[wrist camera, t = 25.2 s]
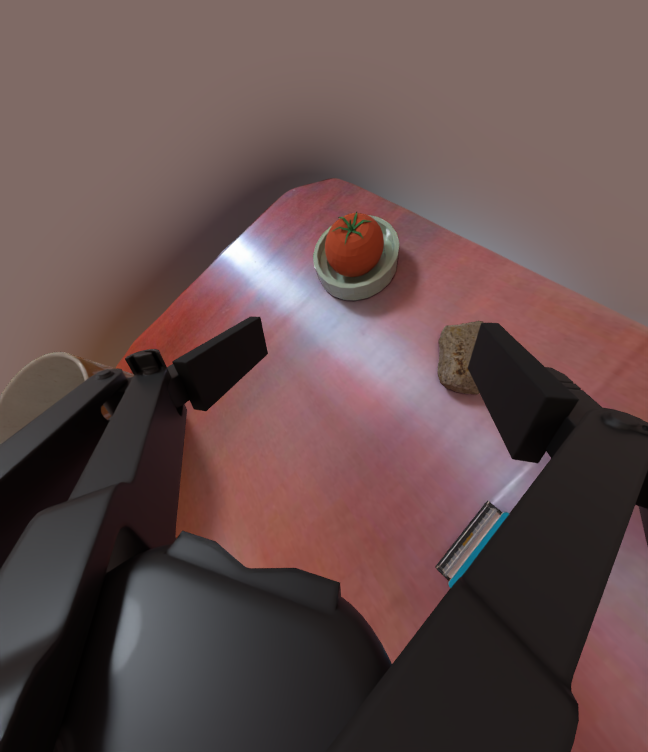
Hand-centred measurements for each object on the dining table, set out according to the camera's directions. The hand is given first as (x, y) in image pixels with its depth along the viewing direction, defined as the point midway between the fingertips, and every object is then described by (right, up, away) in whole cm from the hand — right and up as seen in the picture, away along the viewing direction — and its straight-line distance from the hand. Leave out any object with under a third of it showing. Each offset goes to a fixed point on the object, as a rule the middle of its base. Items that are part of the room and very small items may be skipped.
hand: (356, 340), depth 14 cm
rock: (+20, 0, +23) cm, 30 cm away
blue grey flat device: (+21, -27, +16) cm, 38 cm away
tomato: (+4, +19, +31) cm, 37 cm away
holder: (+4, +19, +31) cm, 37 cm away
